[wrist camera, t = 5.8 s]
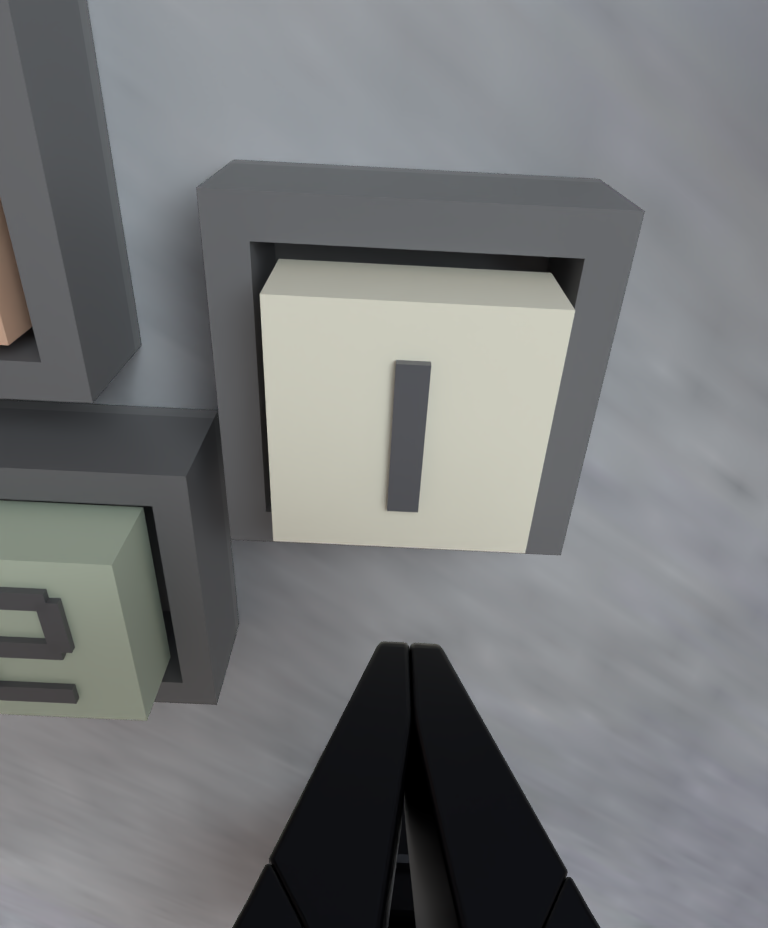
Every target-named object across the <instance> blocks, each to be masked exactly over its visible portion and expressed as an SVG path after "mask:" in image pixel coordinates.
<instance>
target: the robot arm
mask: <svg viewBox="0 0 768 928" xmlns="http://www.w3.org/2000/svg"><path fill="white" fill-rule="evenodd" d="M567 873H568V872H567V869H566V867H565V866H564V864H563V862H562V860H561V858H560V857H559V855H558V853H557V851H556V850H555V848H554V846H553V844H552V842H551V841H550V839H549V837H548V835H547V834H546V832H545V830H544V828H543V826H542V825H541V823H540V821H539V819H538V818H537V816H536V814H535V812H534V810H533V809H532V807H531V805H530V803H529V802H528V800H527V798H526V796H525V794H524V793H523V791H522V789H521V787H520V786H519V784H518V782H517V780H516V778H515V777H514V775H513V773H512V771H511V770H510V768H509V766H508V764H507V762H506V761H505V759H504V757H503V755H502V754H501V752H500V750H499V748H498V746H497V745H496V743H495V741H494V739H493V738H492V736H491V734H490V732H489V731H488V729H487V727H486V725H485V723H484V722H483V720H482V718H481V716H480V715H479V713H478V711H477V709H476V707H475V706H474V704H473V702H472V700H471V699H470V697H469V695H468V693H467V691H466V690H465V688H464V686H463V684H462V683H461V681H460V679H459V677H458V675H457V674H456V672H455V670H454V668H453V667H452V665H451V663H450V661H449V659H448V658H447V656H446V654H445V652H444V651H443V649H442V648H441V646H439V645H438V644H426V643H413V644H412V645H411V646H410V649H409V646H408V644H407V643H404V642H381V643H379V645H378V646H377V647H376V649H375V651H374V653H373V655H372V657H371V659H370V661H369V663H368V665H367V667H366V669H365V671H364V673H363V675H362V677H361V679H360V681H359V683H358V685H357V687H356V689H355V691H354V693H353V695H352V697H351V699H350V701H349V702H348V704H347V706H346V708H345V710H344V712H343V714H342V716H341V718H340V720H339V722H338V724H337V726H336V728H335V730H334V732H333V734H332V736H331V738H330V740H329V742H328V744H327V746H326V748H325V750H324V752H323V754H322V756H321V758H320V760H319V761H318V763H317V765H316V767H315V769H314V771H313V773H312V775H311V777H310V779H309V781H308V783H307V785H306V787H305V789H304V791H303V793H302V795H301V797H300V799H299V801H298V803H297V805H296V807H295V809H294V811H293V813H292V815H291V817H290V818H289V820H288V822H287V824H286V826H285V828H284V830H283V832H282V834H281V836H280V838H279V840H278V842H277V844H276V846H275V848H274V850H273V852H272V854H271V856H270V858H269V864H267V865H265V867H264V869H263V871H262V873H261V875H260V877H259V879H258V881H257V883H256V884H255V886H254V888H253V890H252V892H251V894H250V896H249V898H248V900H247V902H246V904H245V905H244V907H243V909H242V911H241V913H240V914H239V916H238V918H237V920H236V922H235V924H234V925H233V927H232V928H600V926H599V924H598V923H597V921H596V919H595V918H594V916H593V914H592V913H591V911H590V909H589V908H588V906H587V904H586V902H585V901H584V899H583V897H582V895H581V893H580V892H579V890H578V888H577V886H576V885H575V883H574V881H573V879H572V878H571V877H566V876H567Z"/></svg>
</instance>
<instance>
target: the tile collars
mask: <svg viewBox="0 0 768 928" xmlns="http://www.w3.org/2000/svg"><path fill="white" fill-rule="evenodd" d="M196 189H197V200H198V210H199V220H200V230H201V240H202V250H203V260H204V271H205V281H206V291H207V301H208V311H209V321H210V332H211V342H212V352H213V362H214V372H215V382H216V393H217V403H218V410H200V409H180V408H160V407H139V406H119V405H99V404H79V403H59V402H39V401H18V400H0V500H5V501H26V502H46V503H67V504H88V505H108V506H129V507H143V508H144V514H145V519H146V525H147V530H148V536H149V541H150V547H151V552H152V558H153V563H154V569H155V574H156V580H157V585H158V591H159V596H160V602H161V607H162V612H163V618H164V623H165V629H166V634H167V640H168V645H169V651H170V656H171V657H170V660H169V663H168V665H167V668H166V671H165V674H164V676H163V679H162V682H161V684H160V687H159V690H158V693H157V695H156V698H155V701H154V702H169V703H190V704H212V705H217V702H218V699H219V695H220V691H221V688H222V684H223V680H224V677H225V673H226V669H227V666H228V662H229V658H230V655H231V651H232V647H233V644H234V640H235V636H236V633H237V629H238V625H239V619H238V609H237V599H236V588H235V578H234V568H233V558H232V548H231V540H251V541H272V542H280V541H273V527H272V508H271V490H270V472H269V454H268V436H267V418H266V400H265V381H264V363H263V345H262V327H261V309H260V293H261V291H262V289H263V287H264V285H265V283H266V282H267V280H268V278H269V276H270V274H271V272H272V270H273V269H274V267H275V265H276V263H277V261H278V259H295V260H314V261H333V262H353V263H372V264H391V265H411V266H430V267H450V268H469V269H488V270H508V271H527V272H547V273H552V275H553V276H554V278H555V279H556V281H557V282H558V284H559V286H560V287H561V289H562V290H563V292H564V293H565V295H566V296H567V298H568V300H569V301H570V303H571V304H572V306H573V307H574V309H575V314H574V319H573V324H572V329H571V334H570V339H569V344H568V348H567V353H566V358H565V363H564V368H563V373H562V377H561V382H560V387H559V392H558V397H557V402H556V406H555V411H554V416H553V421H552V426H551V431H550V435H549V440H548V445H547V450H546V455H545V460H544V464H543V469H542V474H541V479H540V484H539V489H538V493H537V498H536V503H535V508H534V513H533V518H532V522H531V527H530V532H529V537H528V542H527V547H526V551H525V553H523V554H544V555H561V552H562V548H563V544H564V540H565V536H566V532H567V527H568V523H569V519H570V515H571V511H572V507H573V503H574V499H575V495H576V491H577V487H578V482H579V478H580V474H581V470H582V466H583V462H584V458H585V454H586V450H587V446H588V442H589V437H590V433H591V429H592V425H593V421H594V417H595V413H596V409H597V405H598V401H599V397H600V392H601V388H602V384H603V380H604V376H605V372H606V368H607V364H608V360H609V356H610V351H611V347H612V343H613V339H614V335H615V331H616V327H617V323H618V319H619V315H620V311H621V306H622V302H623V298H624V294H625V290H626V286H627V282H628V278H629V274H630V270H631V266H632V261H633V257H634V253H635V249H636V245H637V241H638V237H639V233H640V229H641V225H642V221H643V216H644V212H645V211H644V210H642V209H641V208H640V207H638V206H637V205H635V204H634V203H633V202H631V201H630V200H628V199H627V198H626V197H624V196H623V195H621V194H620V193H619V192H617V191H616V190H614V189H613V188H612V187H610V186H609V185H607V184H606V183H605V182H603V181H602V180H600V179H590V178H571V177H552V176H533V175H514V174H495V173H477V172H458V171H439V170H420V169H401V168H382V167H363V166H344V165H325V164H306V163H287V162H268V161H249V160H233V161H231V162H230V163H229V164H227V165H226V166H225V167H223V168H222V169H221V170H219V171H218V172H217V173H215V174H214V175H213V176H211V177H210V178H209V179H207V180H206V181H205V182H203V183H202V184H201V185H199V186H198V187H197V188H196ZM0 198H1V202H2V206H3V210H4V214H5V218H6V222H7V226H8V230H9V234H10V238H11V242H12V246H13V250H14V254H15V258H16V262H17V266H18V271H19V275H20V279H21V283H22V287H23V291H24V295H25V299H26V303H27V307H28V311H29V315H30V319H31V323H32V327H31V328H30V329H29V330H27V331H26V332H25V333H24V334H22V335H21V336H20V337H19V338H17V339H16V340H15V341H14V342H12V343H11V344H10V345H0V399H21V400H41V401H61V402H81V403H93V402H94V401H95V400H96V399H97V397H98V396H99V395H100V394H101V393H102V391H103V390H104V389H105V388H106V387H107V385H108V384H109V383H110V382H111V381H112V379H113V378H114V377H115V376H116V375H117V373H118V372H119V371H120V370H121V369H122V367H123V366H124V365H125V364H126V363H127V361H128V360H129V359H130V358H131V357H132V356H133V354H134V353H135V352H136V351H137V350H138V348H139V347H140V346H141V339H140V332H139V326H138V320H137V313H136V307H135V301H134V295H133V288H132V282H131V276H130V269H129V263H128V257H127V250H126V244H125V238H124V232H123V225H122V219H121V213H120V206H119V200H118V194H117V187H116V181H115V175H114V169H113V162H112V156H111V150H110V143H109V137H108V131H107V124H106V118H105V112H104V106H103V99H102V93H101V87H100V80H99V74H98V68H97V61H96V55H95V49H94V43H93V36H92V30H91V24H90V17H89V11H88V5H87V0H0ZM218 413H219V416H218ZM219 423H220V427H219ZM220 433H221V437H220ZM221 443H222V447H221ZM222 453H223V457H222ZM223 464H224V467H223ZM224 474H225V477H224ZM225 484H226V487H225ZM226 494H227V497H226ZM227 504H228V508H227ZM228 514H229V518H228ZM229 525H230V528H229ZM230 535H231V538H230ZM293 543H301V542H293ZM314 544H322V543H314ZM335 545H342V544H335ZM356 546H363V545H356ZM377 547H384V546H377ZM397 548H405V547H397ZM418 549H426V548H418ZM439 550H447V549H439ZM460 551H468V550H460ZM481 552H489V551H481ZM502 553H509V552H502Z"/></svg>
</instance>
